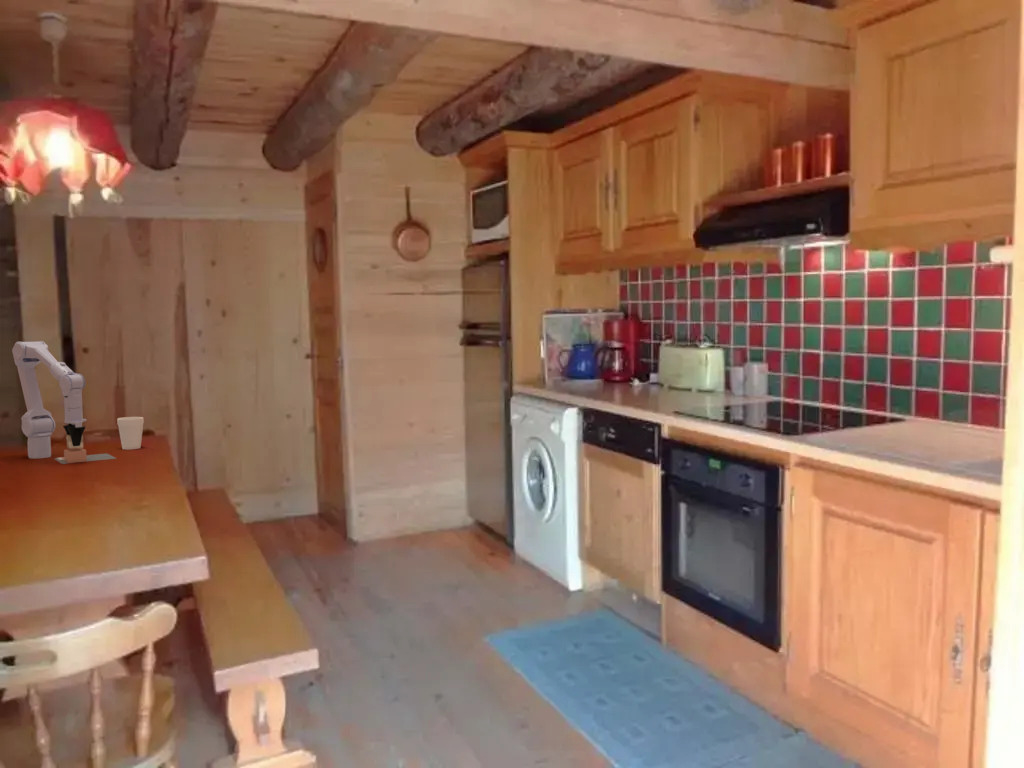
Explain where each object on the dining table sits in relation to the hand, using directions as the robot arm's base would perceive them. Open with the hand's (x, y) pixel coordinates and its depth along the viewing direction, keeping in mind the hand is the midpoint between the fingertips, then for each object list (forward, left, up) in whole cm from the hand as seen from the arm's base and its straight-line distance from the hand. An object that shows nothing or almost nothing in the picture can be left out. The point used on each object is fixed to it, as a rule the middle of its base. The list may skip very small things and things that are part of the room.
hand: (74, 445), depth 288 cm
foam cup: (-18, +24, -7) cm, 31 cm away
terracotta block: (0, 0, -6) cm, 6 cm away
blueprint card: (-7, 0, -6) cm, 9 cm away
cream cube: (0, 0, -1) cm, 1 cm away
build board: (-3, +4, -7) cm, 9 cm away
